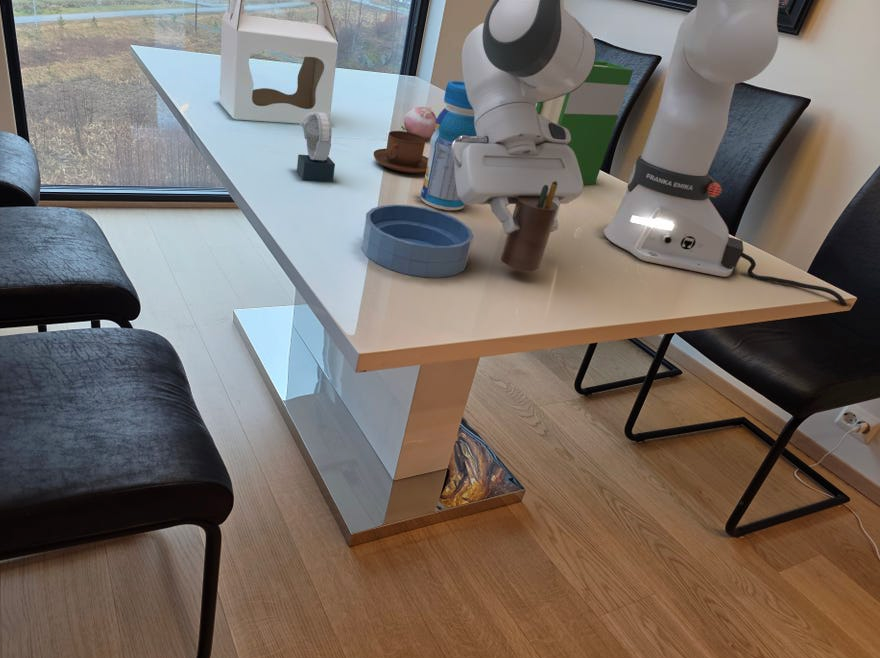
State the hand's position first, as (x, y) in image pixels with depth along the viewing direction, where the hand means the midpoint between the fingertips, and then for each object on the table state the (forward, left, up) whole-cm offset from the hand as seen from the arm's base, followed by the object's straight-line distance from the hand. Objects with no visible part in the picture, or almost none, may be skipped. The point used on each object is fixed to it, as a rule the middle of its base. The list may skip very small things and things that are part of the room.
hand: (532, 231), depth 92 cm
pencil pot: (+1, 0, -5) cm, 5 cm away
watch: (+40, -20, -8) cm, 46 cm away
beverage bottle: (+17, -24, -8) cm, 31 cm away
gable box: (+64, -54, -8) cm, 85 cm away
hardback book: (-1, -60, -8) cm, 61 cm away
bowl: (+15, +3, -7) cm, 17 cm away
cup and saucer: (+29, -39, -8) cm, 50 cm away
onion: (+33, -66, -8) cm, 75 cm away
